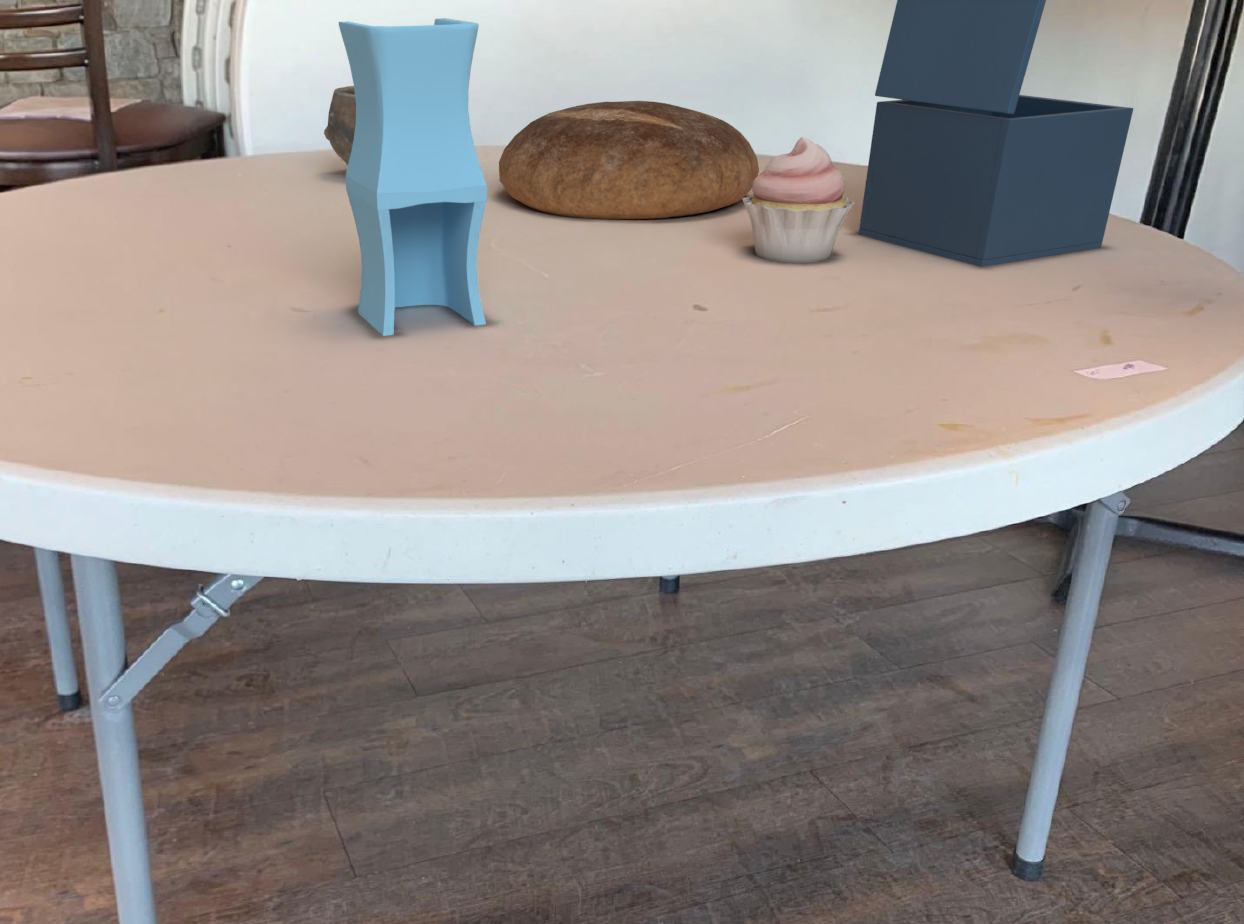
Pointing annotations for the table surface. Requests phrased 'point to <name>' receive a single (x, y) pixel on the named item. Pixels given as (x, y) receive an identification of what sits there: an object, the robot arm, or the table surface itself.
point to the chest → (993, 178)
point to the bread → (628, 162)
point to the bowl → (342, 122)
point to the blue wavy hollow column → (414, 169)
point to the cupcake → (798, 205)
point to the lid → (960, 52)
